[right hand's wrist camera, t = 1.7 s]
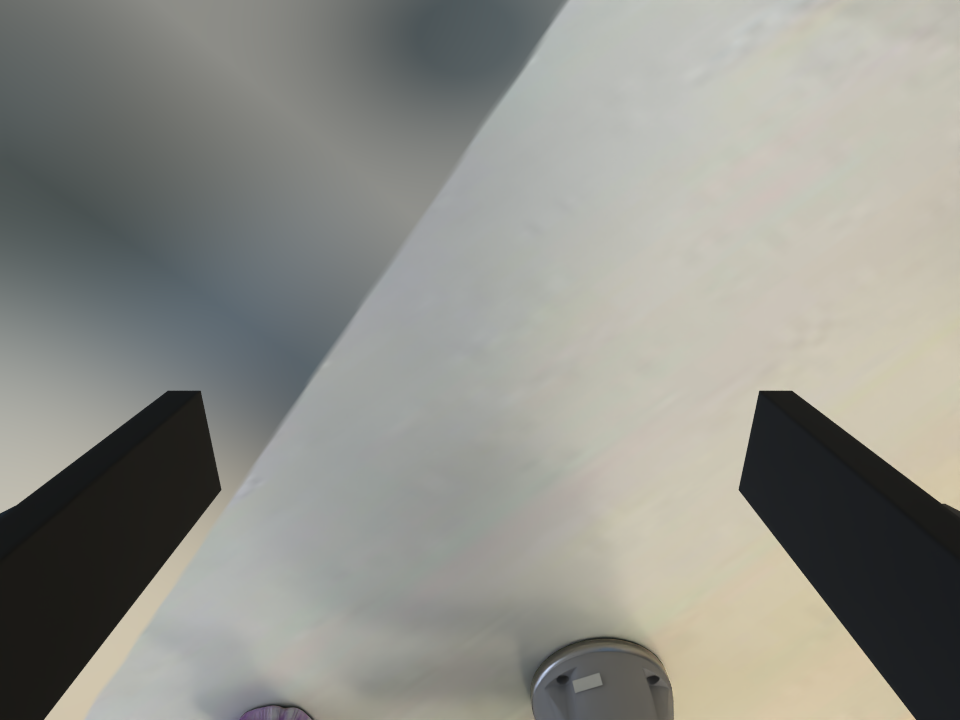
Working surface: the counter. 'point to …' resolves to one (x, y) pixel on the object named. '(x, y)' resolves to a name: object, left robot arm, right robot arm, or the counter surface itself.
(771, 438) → the right robot arm
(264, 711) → the figurine
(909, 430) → the counter surface
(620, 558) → the counter surface
